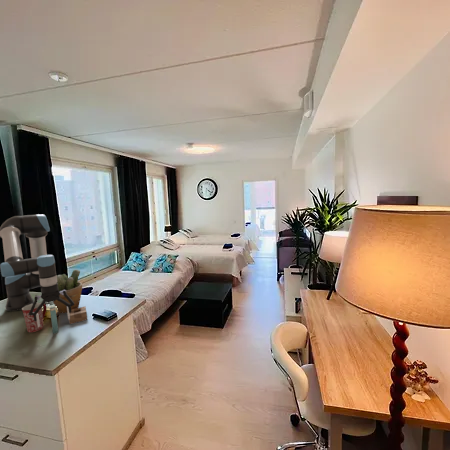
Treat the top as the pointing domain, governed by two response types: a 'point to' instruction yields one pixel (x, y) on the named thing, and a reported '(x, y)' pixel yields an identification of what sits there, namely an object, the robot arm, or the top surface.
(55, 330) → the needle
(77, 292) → the potted plant
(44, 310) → the mug
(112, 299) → the top surface
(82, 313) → the wooden holder
